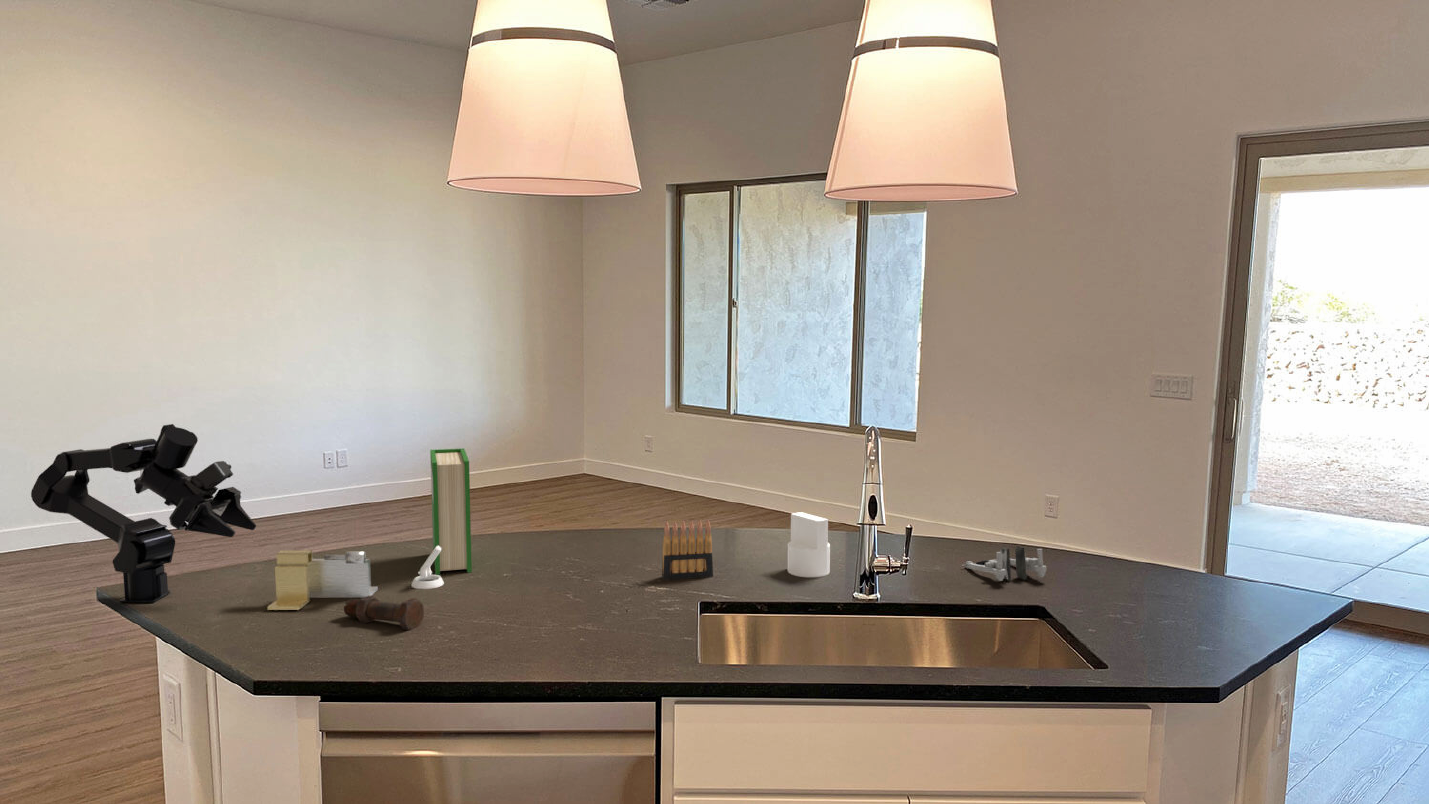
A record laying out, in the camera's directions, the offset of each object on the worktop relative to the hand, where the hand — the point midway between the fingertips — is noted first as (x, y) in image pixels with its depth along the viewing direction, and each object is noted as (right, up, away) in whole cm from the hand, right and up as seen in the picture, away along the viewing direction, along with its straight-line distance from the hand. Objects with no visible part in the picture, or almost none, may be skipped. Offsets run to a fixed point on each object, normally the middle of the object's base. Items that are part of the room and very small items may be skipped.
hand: (244, 531), depth 186 cm
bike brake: (+151, -12, +25) cm, 153 cm away
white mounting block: (+16, -13, +6) cm, 22 cm away
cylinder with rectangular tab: (+109, -12, +25) cm, 113 cm away
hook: (+31, -13, +14) cm, 36 cm away
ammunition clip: (+83, -12, +21) cm, 87 cm away
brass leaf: (+9, -14, 0) cm, 16 cm away
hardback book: (+31, -11, +30) cm, 45 cm away
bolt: (+29, -16, -9) cm, 34 cm away
